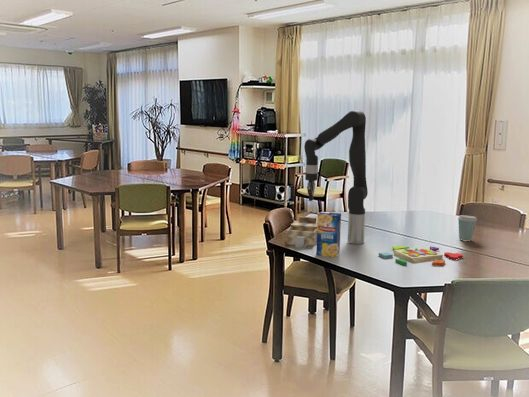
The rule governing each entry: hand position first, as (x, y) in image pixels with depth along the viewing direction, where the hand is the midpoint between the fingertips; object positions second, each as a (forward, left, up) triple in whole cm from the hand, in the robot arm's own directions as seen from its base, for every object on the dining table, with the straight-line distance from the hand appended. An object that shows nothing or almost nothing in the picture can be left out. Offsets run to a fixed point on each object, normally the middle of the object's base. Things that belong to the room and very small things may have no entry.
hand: (310, 200), depth 302 cm
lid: (0, +12, -13) cm, 17 cm away
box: (0, +21, -21) cm, 30 cm away
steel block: (-1, +31, -21) cm, 38 cm away
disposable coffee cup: (-91, -17, -21) cm, 95 cm away
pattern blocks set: (-64, +28, -22) cm, 73 cm away
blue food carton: (-18, +40, -21) cm, 49 cm away
